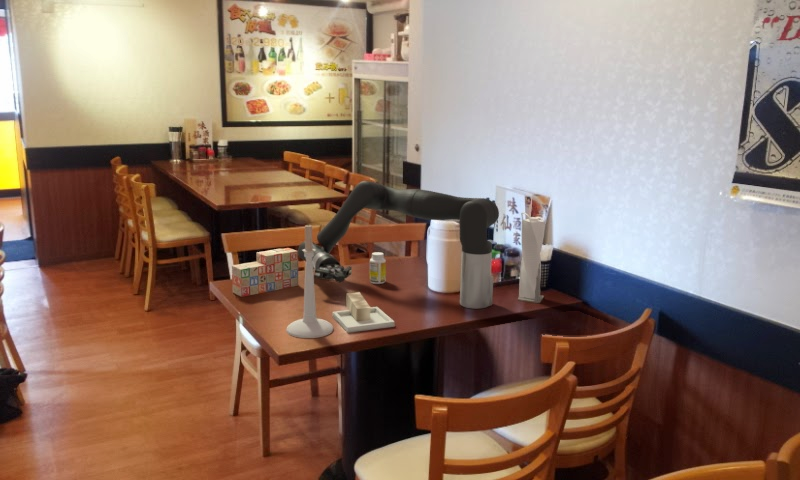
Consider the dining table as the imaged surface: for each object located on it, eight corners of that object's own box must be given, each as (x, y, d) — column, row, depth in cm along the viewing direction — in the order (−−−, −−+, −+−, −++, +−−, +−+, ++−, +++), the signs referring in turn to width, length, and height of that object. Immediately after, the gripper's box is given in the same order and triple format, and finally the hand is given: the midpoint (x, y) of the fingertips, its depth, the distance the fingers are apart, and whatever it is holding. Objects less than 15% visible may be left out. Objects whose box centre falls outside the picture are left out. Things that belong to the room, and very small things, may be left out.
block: (359, 292, 202) (370, 307, 194) (358, 303, 204) (369, 319, 195) (346, 293, 201) (357, 309, 192) (345, 305, 202) (356, 321, 194)
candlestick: (335, 336, 183) (335, 228, 177) (287, 339, 181) (285, 229, 174) (330, 320, 195) (329, 218, 189) (285, 323, 193) (283, 220, 186)
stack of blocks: (241, 297, 215) (240, 260, 213) (232, 292, 220) (230, 256, 217) (298, 285, 229) (298, 250, 226) (289, 281, 234) (288, 246, 231)
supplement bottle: (384, 279, 237) (384, 251, 235) (386, 284, 232) (387, 255, 230) (368, 280, 236) (368, 251, 234) (370, 284, 231) (370, 255, 229)
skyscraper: (513, 299, 217) (517, 214, 211) (518, 292, 225) (523, 209, 218) (539, 303, 214) (545, 216, 208) (544, 296, 222) (549, 212, 215)
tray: (377, 311, 204) (377, 306, 204) (394, 326, 191) (394, 321, 191) (332, 316, 199) (332, 311, 198) (347, 332, 186) (347, 327, 186)
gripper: (306, 255, 223) (321, 269, 208) (344, 252, 228) (361, 266, 213) (306, 277, 225) (321, 292, 209) (344, 274, 230) (361, 288, 214)
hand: (341, 279), depth 211 cm, fingers closed
